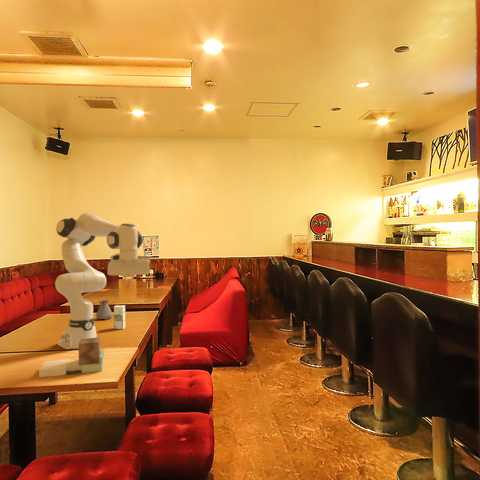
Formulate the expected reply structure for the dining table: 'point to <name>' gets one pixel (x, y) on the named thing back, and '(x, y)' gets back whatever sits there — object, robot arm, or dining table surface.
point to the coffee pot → (104, 310)
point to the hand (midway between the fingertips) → (129, 283)
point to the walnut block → (89, 351)
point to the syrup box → (119, 317)
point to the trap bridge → (69, 367)
